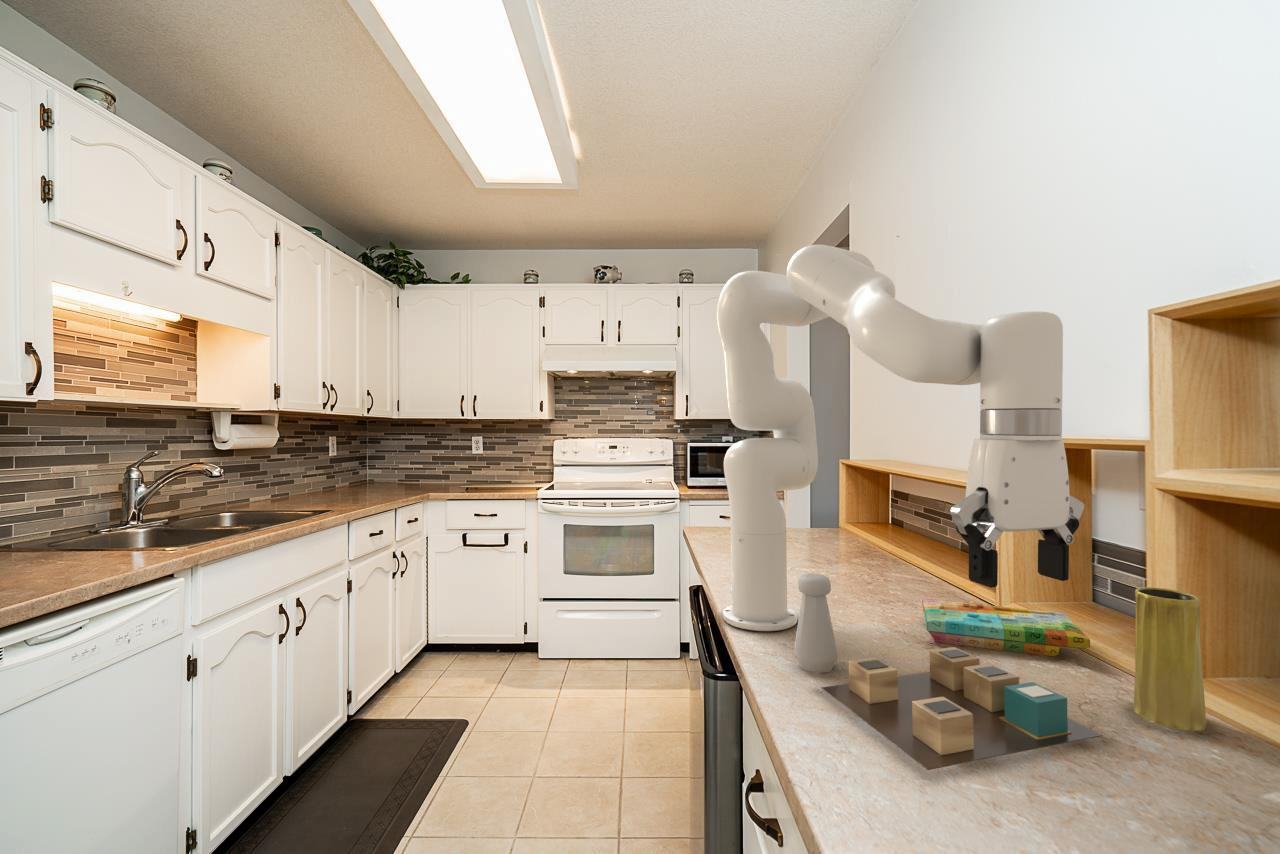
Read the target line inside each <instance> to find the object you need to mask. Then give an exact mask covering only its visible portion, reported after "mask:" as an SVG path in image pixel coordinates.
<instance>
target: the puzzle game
mask: <svg viewBox="0 0 1280 854" xmlns="http://www.w3.org/2000/svg"><path fill="white" fill-rule="evenodd" d="M921 609H922V614H923V619H924V622H925V627H926V631H927V632H928V634H929V635H930V636H931V639H933V642H934V643H942V644H950V645H958V646H967V647H974V648H984V649H990V650H998V651H1008V652H1015V653H1016V652H1017V653H1023V654H1034V655H1041V656H1047V657H1048V656H1049V657H1050V656H1051V657H1056V656H1057V655H1059V654H1060V649H1061V648H1062V649H1074V650H1075V649H1076V650H1087V649H1089V648H1091V640H1090V638H1089V637H1088V636H1087V635H1086V634H1085V633H1084V632H1083V631H1082V630H1081V629H1080V628H1079V627H1078V625H1076V624H1075V623H1074V622H1073V621H1072V620H1071V619H1070V618H1069V617H1068V616H1067V615H1066V614H1065V613H1064V612H1054V611H1047V610H1045V611H1044V610H1036V609H1027V608H1017V607H1010V606H1009V607H1007V606H997V605H989V604H983V603H979V602H976V601H972V600H967V602H966V601H962V602H959V601H953V600H952V601H950V600H941V599H931V598H925V599H922V600H921Z"/></svg>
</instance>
